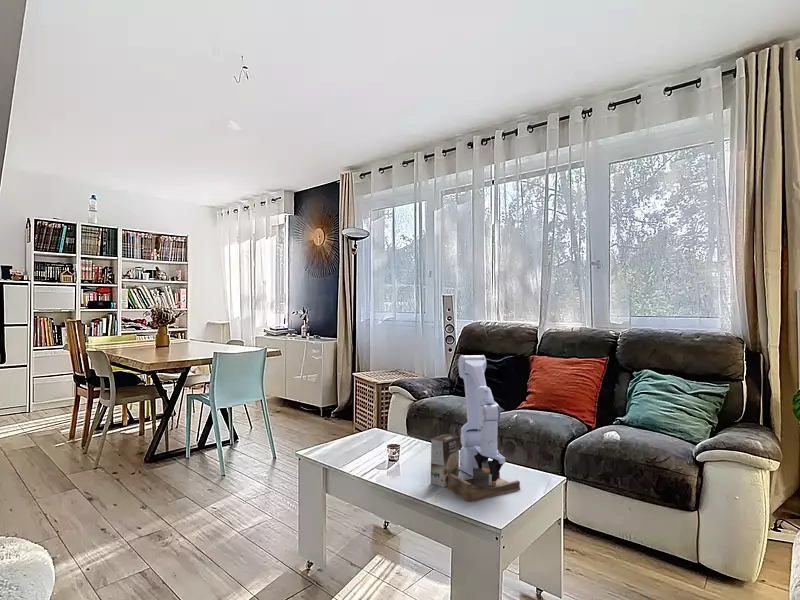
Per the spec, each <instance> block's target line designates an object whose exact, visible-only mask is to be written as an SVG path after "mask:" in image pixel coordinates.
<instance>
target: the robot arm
mask: <svg viewBox="0 0 800 600" xmlns="http://www.w3.org/2000/svg"><path fill="white" fill-rule="evenodd" d="M457 365H458V374H459V378H461V379H463V383H464V384H463V385H464V393H465V396H464V397H465V405H466V418H467V419H466V420H467V422H466V423H464V424H463V425H462V426H461V428H460V443H461V448H460V449H459V471H462V472H464V473H466V474H468V475H470V476H471V477H473V467H475V466H476V467H478V468H480V469H482V461H488V465H489V468H490V473H491V474H492V482H493V481H497V477H498V474H499V472H501V468H502V467H503V465H504V464H506V457H505V456H503V455H502V454H501V453H500V450H498V425H499V424H498V422H499V421H500V420H501V409H500V405H499V404H498V403H497V402H496V401H495V399H494V396H493V393H492V390H491V388H490V387H488V386H487V382H486V377H485V372H486V369H487V359H486V356H485V355H484V354H481V355H480V354H479V355H477V354H476V355H475V354H474V355H463V354H461V355H460V356H459V357H458V363H457ZM489 459H491V460H489Z"/></svg>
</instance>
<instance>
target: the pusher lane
mask: <svg viewBox="0 0 800 600" xmlns="http://www.w3.org/2000/svg"><path fill="white" fill-rule="evenodd" d="M500 472H501V471H499V474H498V477H497V481H496V486H493V487H489V488H485V489H482V488H480V487H478V486H476V485H474V484H473V476H470V477H467V478H461V477H457V476H455V475H453V474H451V473H450V474H448V486H447V490H448V491H450V492H451V493H452V494H454V495H456V496H458V497H459V498H462V499H463V500H465V501H466V502H468V503H472V502H475V501H476V502H477V501H479V500H483V499H487V498H491V497H494V496H499V495H503V494H506V493H511V492H514V491H518V490H521V483H520V482H521V481H519V480H518V479H517V480H514V481H507V480H506V479H503V478H501V476H500V475H501V474H500Z"/></svg>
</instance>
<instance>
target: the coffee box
mask: <svg viewBox="0 0 800 600" xmlns="http://www.w3.org/2000/svg"><path fill="white" fill-rule="evenodd" d="M430 439H431V441H430V442H431V445H430V484H432V485H434V486H435V485H436V486H438V487H442V488H446V487H448V474H450V473H451V474H453V475H455V476H457V477H459V474H460V473H459V471H460V469H459V467H460V436H458V435H454V434H448V433H444V434H440V435H438V436H437V435H436V436H435V437H432V438H430ZM459 478H460V477H459Z"/></svg>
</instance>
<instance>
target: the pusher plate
mask: <svg viewBox="0 0 800 600" xmlns="http://www.w3.org/2000/svg"><path fill="white" fill-rule="evenodd" d="M472 477H473V484H474V485H476V486H478V487H480V488H482V489H485V488H489V487H492V474H491V473H489V472H487V471H484V470H482V469H480V468H478V467H476V466H475V467H473V476H472Z"/></svg>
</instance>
